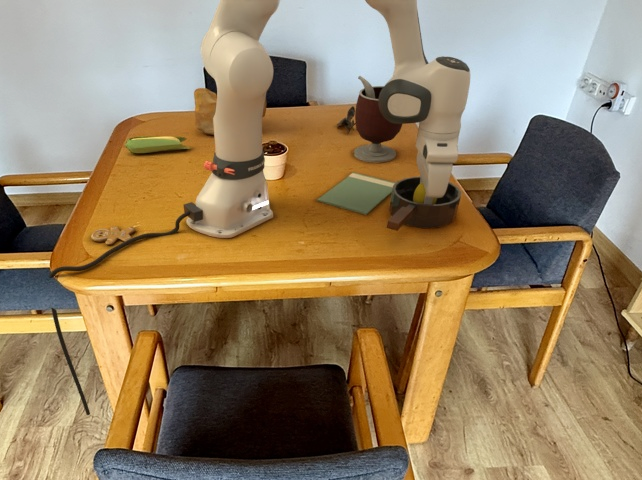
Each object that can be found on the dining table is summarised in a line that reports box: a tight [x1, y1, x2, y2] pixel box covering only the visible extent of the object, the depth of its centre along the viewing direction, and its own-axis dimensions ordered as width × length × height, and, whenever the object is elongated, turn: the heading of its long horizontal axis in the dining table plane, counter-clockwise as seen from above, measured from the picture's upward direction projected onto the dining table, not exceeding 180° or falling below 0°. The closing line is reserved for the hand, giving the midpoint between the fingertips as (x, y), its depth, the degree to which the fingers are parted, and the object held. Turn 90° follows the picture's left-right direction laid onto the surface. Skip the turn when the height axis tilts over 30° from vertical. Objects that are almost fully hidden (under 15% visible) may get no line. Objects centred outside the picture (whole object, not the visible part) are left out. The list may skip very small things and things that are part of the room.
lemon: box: [413, 182, 437, 204], centre depth 127 cm, size 6×6×8 cm
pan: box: [388, 176, 462, 229], centre depth 128 cm, size 16×16×6 cm
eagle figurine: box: [336, 106, 356, 135], centre depth 172 cm, size 8×7×9 cm
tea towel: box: [316, 172, 396, 216], centre depth 139 cm, size 20×14×1 cm
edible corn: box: [124, 135, 191, 155], centre depth 162 cm, size 5×20×5 cm, turn 98°
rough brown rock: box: [193, 87, 268, 136], centre depth 173 cm, size 23×17×15 cm
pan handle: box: [385, 204, 416, 232], centre depth 119 cm, size 12×3×2 cm, turn 145°
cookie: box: [91, 225, 136, 246], centre depth 125 cm, size 8×1×10 cm
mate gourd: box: [353, 75, 403, 164], centre depth 152 cm, size 16×14×20 cm
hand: (424, 198), depth 128 cm, fingers closed on lemon, 5 cm apart
